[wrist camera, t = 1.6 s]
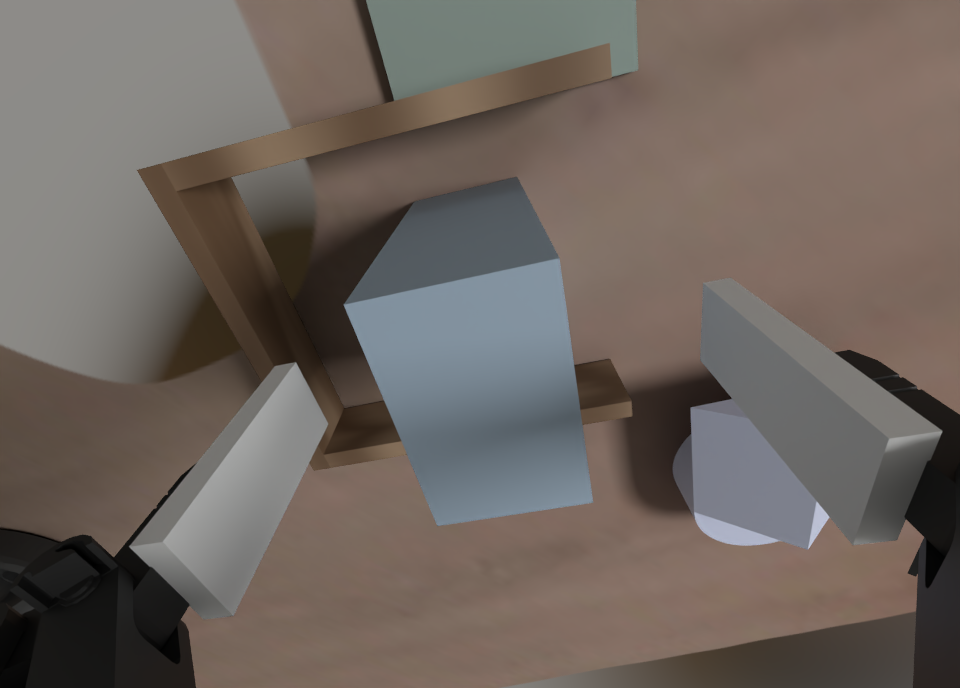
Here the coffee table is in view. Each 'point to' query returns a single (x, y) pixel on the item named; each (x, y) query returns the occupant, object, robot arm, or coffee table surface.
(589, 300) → the coffee table surface
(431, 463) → the block
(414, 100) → the shelf bay
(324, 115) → the coffee table surface
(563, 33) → the felt pad
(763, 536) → the wedge on round base
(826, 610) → the coffee table surface
